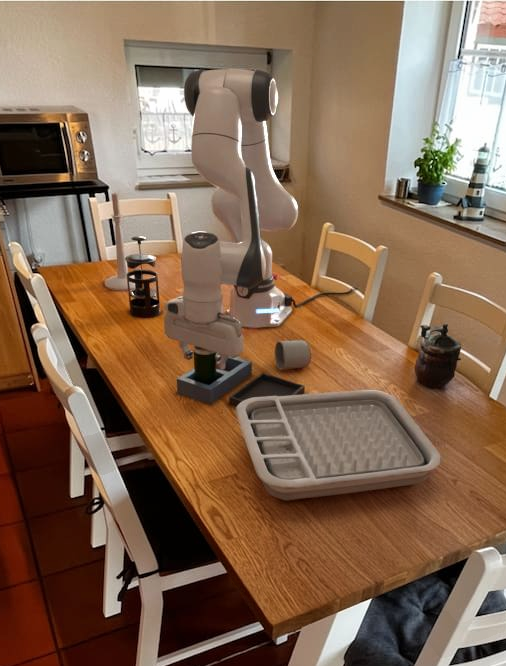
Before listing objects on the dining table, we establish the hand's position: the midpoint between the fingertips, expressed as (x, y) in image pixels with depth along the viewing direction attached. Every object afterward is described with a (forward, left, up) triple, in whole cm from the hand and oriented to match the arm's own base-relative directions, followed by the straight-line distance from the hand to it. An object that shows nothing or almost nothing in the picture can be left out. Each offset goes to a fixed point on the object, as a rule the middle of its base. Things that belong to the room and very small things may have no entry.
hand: (204, 363), depth 140 cm
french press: (-30, -45, -8) cm, 55 cm away
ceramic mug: (-24, +10, -8) cm, 28 cm away
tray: (-5, +15, -8) cm, 17 cm away
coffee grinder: (-36, +46, -8) cm, 59 cm away
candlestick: (-45, -67, -8) cm, 81 cm away
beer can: (0, 0, -8) cm, 8 cm away
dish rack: (+10, +39, -8) cm, 41 cm away
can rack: (-4, 0, -8) cm, 9 cm away
